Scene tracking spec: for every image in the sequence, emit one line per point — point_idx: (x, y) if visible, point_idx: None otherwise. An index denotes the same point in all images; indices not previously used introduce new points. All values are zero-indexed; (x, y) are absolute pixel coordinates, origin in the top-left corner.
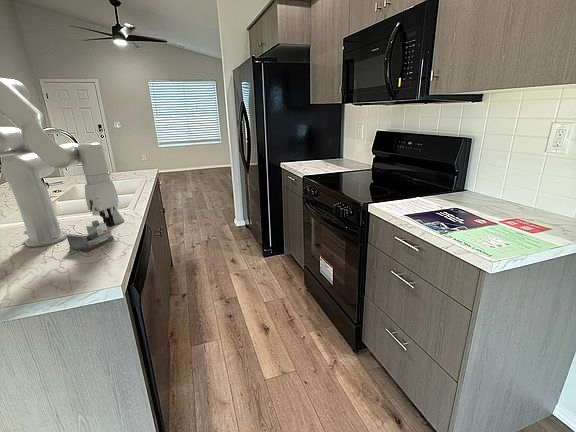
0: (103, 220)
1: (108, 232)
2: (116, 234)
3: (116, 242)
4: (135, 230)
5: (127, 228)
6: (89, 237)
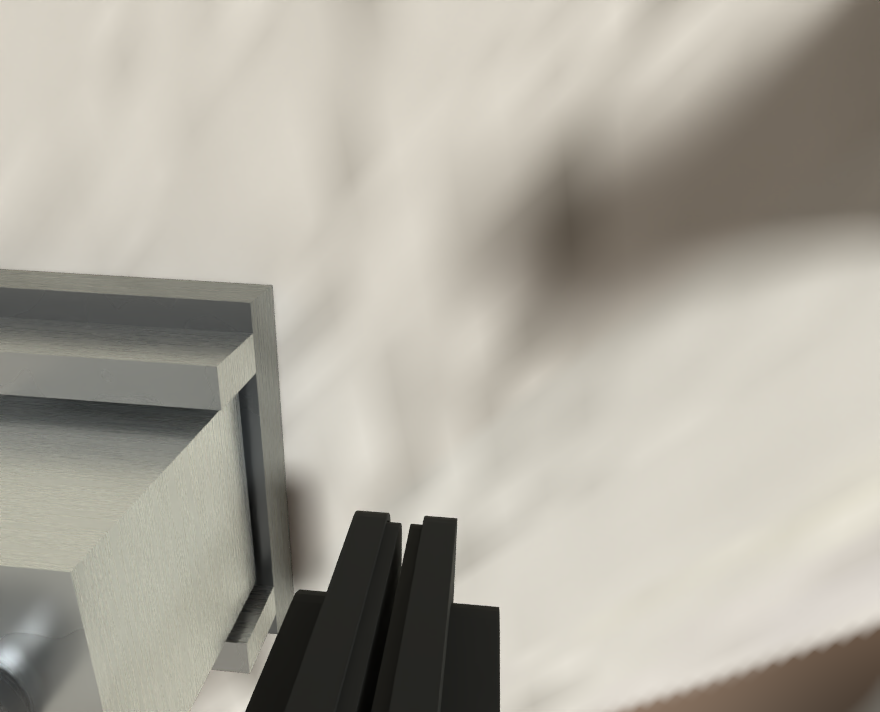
0: (257, 687)
1: (224, 649)
2: (461, 517)
3: (224, 679)
4: (648, 682)
5: (737, 525)
6: (17, 397)
